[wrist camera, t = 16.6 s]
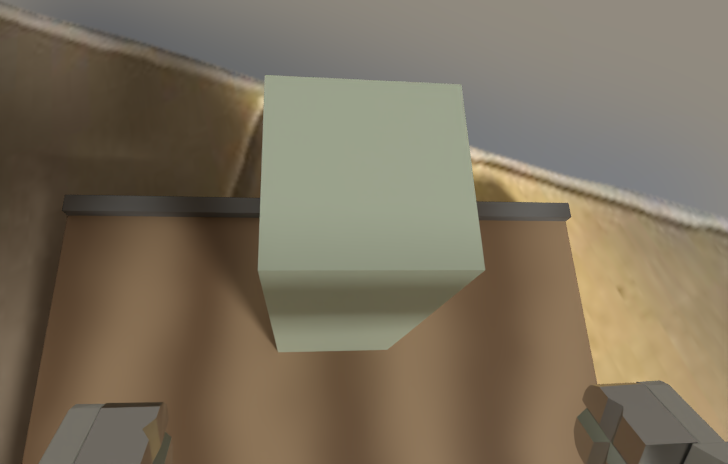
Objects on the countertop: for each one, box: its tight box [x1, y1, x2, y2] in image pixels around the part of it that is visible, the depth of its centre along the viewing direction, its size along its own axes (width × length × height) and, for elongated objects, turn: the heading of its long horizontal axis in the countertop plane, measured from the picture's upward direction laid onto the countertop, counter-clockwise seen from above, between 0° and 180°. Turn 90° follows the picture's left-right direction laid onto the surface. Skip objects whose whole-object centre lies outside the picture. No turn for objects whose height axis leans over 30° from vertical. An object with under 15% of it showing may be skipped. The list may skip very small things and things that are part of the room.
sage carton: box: [258, 75, 485, 352], centre depth 18 cm, size 5×5×13 cm
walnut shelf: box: [22, 195, 597, 464], centre depth 24 cm, size 25×16×4 cm, turn 92°
